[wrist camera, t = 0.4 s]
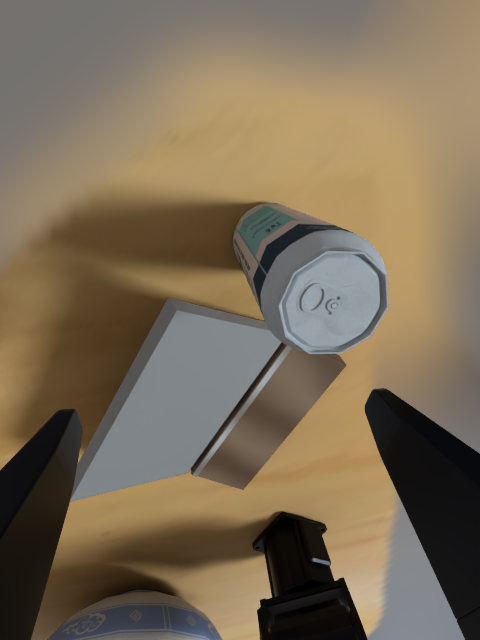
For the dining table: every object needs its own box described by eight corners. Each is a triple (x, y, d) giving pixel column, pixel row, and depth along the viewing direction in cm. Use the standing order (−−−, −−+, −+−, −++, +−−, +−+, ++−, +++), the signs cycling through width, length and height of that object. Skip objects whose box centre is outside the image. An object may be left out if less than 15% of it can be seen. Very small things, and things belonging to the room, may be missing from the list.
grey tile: (182, 461, 29) (187, 472, 28) (65, 485, 22) (69, 501, 21) (277, 324, 24) (287, 334, 23) (168, 297, 17) (177, 310, 16)
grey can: (283, 281, 23) (358, 378, 12) (222, 260, 22) (245, 346, 11) (312, 217, 21) (429, 264, 10) (247, 190, 20) (304, 211, 9)
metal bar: (241, 477, 31) (243, 490, 30) (191, 461, 30) (191, 474, 28) (339, 356, 26) (347, 365, 25) (286, 328, 25) (291, 337, 23)
